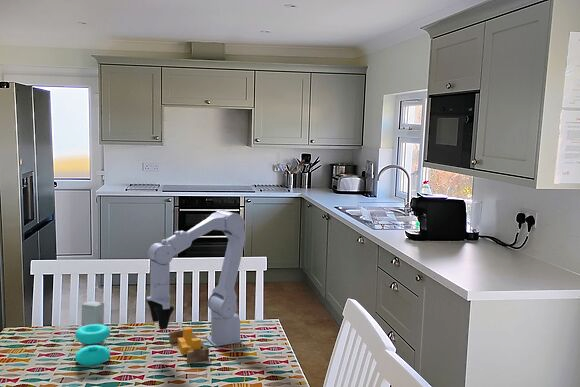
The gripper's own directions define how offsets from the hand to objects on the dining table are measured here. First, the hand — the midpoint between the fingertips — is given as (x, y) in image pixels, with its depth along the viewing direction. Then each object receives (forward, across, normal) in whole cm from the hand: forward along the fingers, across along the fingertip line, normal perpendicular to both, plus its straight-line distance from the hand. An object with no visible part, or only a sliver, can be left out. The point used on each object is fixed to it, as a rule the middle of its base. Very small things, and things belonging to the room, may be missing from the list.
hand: (159, 324), depth 170 cm
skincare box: (+10, -23, -16) cm, 30 cm away
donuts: (+10, -5, -19) cm, 22 cm away
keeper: (+10, 0, +10) cm, 14 cm away
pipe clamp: (+10, +2, +9) cm, 14 cm away
